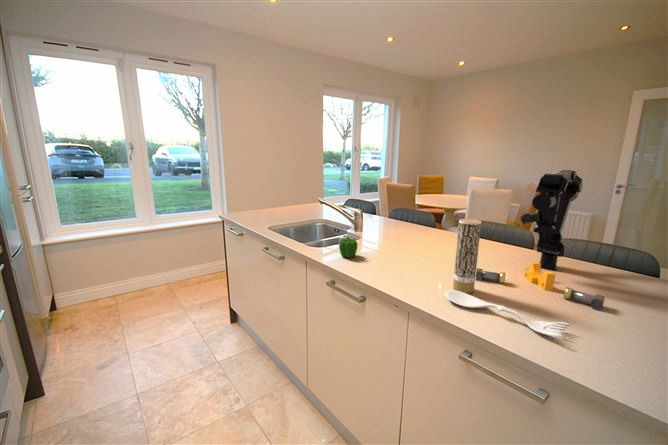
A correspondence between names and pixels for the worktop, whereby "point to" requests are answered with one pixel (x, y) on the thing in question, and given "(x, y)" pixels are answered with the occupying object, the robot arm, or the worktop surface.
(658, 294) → the worktop surface
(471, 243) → the paper tube
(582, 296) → the shaft
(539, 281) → the pipe clamp
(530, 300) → the worktop surface
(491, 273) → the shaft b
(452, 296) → the white plastic spork
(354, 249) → the bell pepper
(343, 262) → the worktop surface
